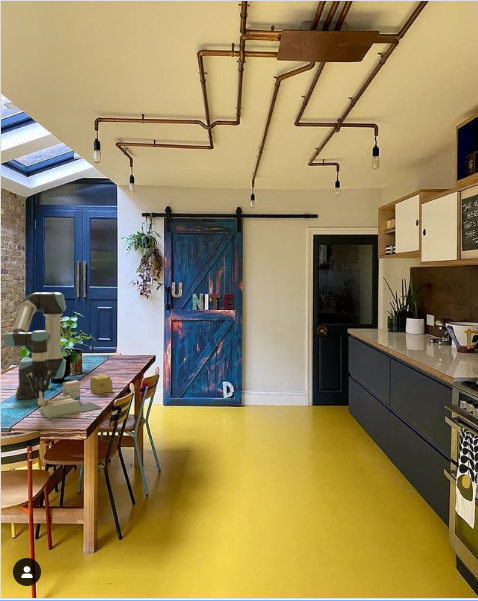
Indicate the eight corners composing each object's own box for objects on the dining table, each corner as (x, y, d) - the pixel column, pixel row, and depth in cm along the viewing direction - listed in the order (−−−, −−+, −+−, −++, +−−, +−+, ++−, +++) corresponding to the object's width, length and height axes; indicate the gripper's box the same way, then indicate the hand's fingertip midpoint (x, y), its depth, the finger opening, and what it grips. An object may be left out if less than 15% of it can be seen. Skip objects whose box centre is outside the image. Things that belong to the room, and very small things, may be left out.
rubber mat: (71, 406, 239) (71, 406, 239) (91, 402, 247) (91, 402, 247) (81, 412, 229) (81, 411, 229) (102, 408, 237) (102, 407, 237)
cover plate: (42, 405, 225) (42, 398, 225) (70, 400, 236) (70, 393, 235) (49, 409, 219) (49, 402, 218) (77, 403, 229) (77, 397, 229)
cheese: (112, 391, 272) (112, 376, 272) (97, 394, 264) (97, 379, 264) (104, 388, 279) (104, 373, 279) (89, 391, 271) (89, 376, 271)
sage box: (40, 413, 226) (40, 401, 226) (70, 407, 237) (70, 395, 237) (49, 419, 217) (49, 406, 217) (79, 412, 229) (79, 400, 228)
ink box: (76, 398, 255) (76, 379, 254) (80, 400, 252) (80, 381, 251) (62, 401, 248) (62, 382, 248) (66, 403, 245) (66, 383, 244)
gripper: (29, 362, 211) (29, 408, 212) (55, 359, 220) (55, 403, 222) (24, 360, 217) (24, 405, 218) (49, 357, 226) (50, 400, 227)
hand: (40, 404), depth 220 cm, fingers closed
